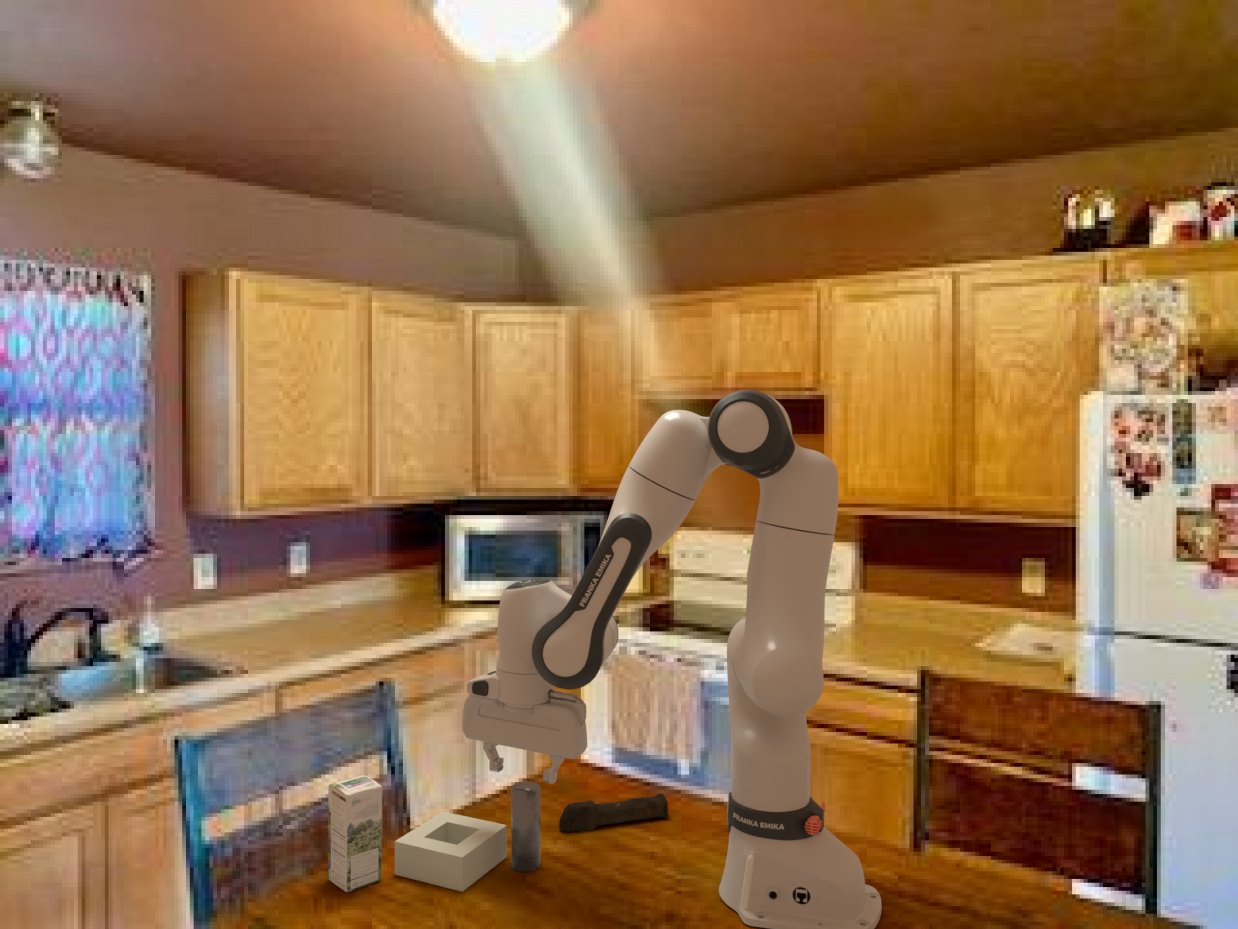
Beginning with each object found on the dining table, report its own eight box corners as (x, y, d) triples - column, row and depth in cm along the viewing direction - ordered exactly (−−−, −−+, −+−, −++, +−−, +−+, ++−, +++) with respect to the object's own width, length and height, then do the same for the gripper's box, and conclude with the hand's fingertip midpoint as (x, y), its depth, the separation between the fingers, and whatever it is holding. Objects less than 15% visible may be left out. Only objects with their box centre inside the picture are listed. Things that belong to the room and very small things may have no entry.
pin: (545, 862, 141) (545, 784, 141) (531, 874, 137) (531, 794, 137) (520, 856, 143) (520, 779, 143) (505, 868, 139) (505, 789, 139)
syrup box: (362, 867, 139) (362, 772, 139) (383, 881, 135) (382, 783, 135) (327, 880, 135) (326, 782, 135) (347, 895, 131) (346, 794, 131)
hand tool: (661, 812, 161) (661, 786, 161) (669, 821, 157) (669, 794, 157) (555, 827, 155) (555, 799, 155) (561, 837, 151) (561, 809, 151)
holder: (506, 857, 143) (506, 825, 143) (462, 891, 132) (462, 857, 132) (442, 842, 148) (442, 811, 148) (394, 874, 137) (394, 841, 137)
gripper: (595, 690, 138) (593, 782, 138) (480, 672, 147) (478, 758, 147) (576, 701, 132) (573, 796, 133) (457, 681, 141) (455, 770, 141)
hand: (522, 776), depth 140 cm, fingers open, 8 cm apart
